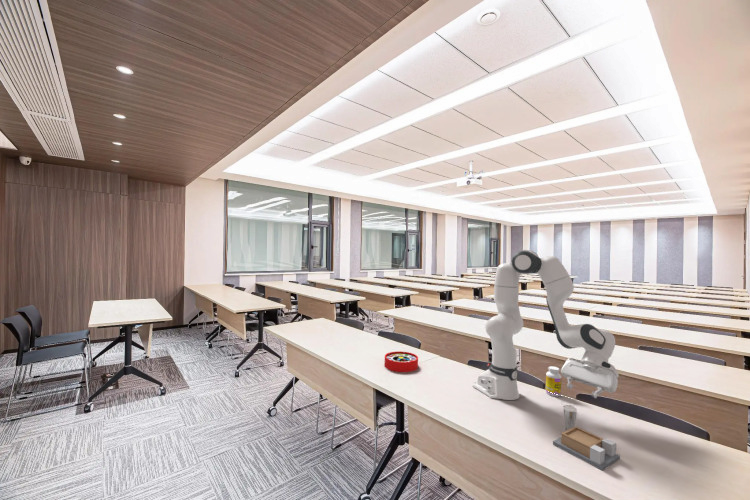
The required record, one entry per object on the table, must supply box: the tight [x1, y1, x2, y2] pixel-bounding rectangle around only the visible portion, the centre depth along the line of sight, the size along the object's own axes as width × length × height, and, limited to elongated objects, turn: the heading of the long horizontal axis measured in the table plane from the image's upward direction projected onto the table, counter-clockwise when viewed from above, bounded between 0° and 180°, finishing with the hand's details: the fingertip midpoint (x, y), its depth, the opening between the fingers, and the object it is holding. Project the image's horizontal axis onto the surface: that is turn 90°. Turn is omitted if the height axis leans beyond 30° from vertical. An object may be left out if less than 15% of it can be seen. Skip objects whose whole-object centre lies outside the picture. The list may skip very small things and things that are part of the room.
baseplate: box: [552, 425, 621, 472], centre depth 113 cm, size 16×12×5 cm
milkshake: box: [560, 401, 578, 431], centre depth 128 cm, size 4×5×10 cm
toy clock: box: [384, 350, 419, 373], centre depth 194 cm, size 20×6×20 cm
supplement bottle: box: [545, 365, 563, 397], centre depth 159 cm, size 7×7×13 cm
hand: (580, 392), depth 132 cm, fingers open, 8 cm apart
